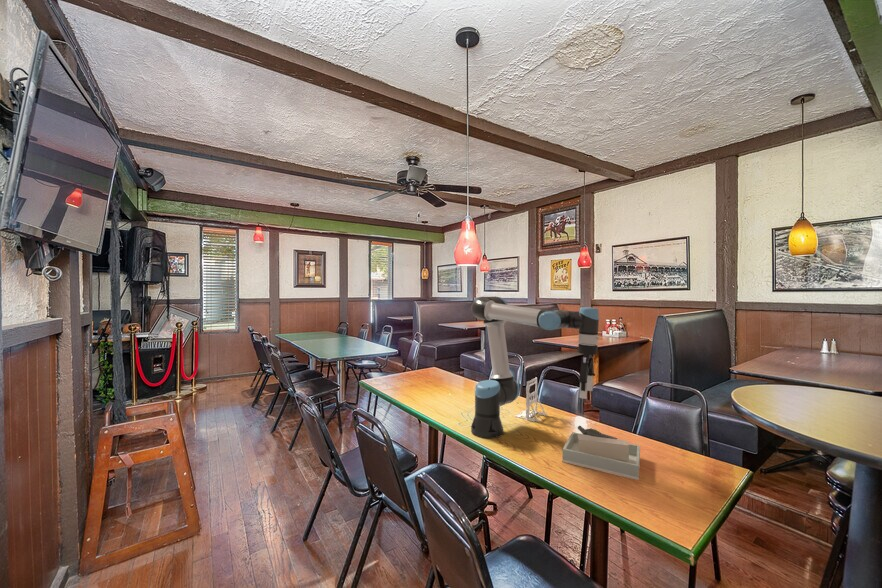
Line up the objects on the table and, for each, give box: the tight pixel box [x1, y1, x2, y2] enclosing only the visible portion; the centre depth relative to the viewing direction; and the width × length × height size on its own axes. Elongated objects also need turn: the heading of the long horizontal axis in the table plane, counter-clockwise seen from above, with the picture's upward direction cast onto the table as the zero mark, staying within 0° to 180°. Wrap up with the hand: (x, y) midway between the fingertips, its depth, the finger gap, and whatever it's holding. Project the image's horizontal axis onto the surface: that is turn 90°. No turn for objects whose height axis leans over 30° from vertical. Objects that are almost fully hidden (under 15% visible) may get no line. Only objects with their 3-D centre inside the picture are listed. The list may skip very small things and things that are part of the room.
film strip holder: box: [514, 376, 548, 423], centre depth 190 cm, size 14×14×20 cm
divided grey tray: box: [561, 431, 641, 481], centre depth 140 cm, size 26×20×5 cm
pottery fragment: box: [577, 425, 618, 439], centre depth 161 cm, size 15×12×4 cm
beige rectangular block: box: [577, 435, 629, 461], centre depth 140 cm, size 18×5×6 cm, turn 73°
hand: (586, 394), depth 148 cm, fingers open, 13 cm apart
